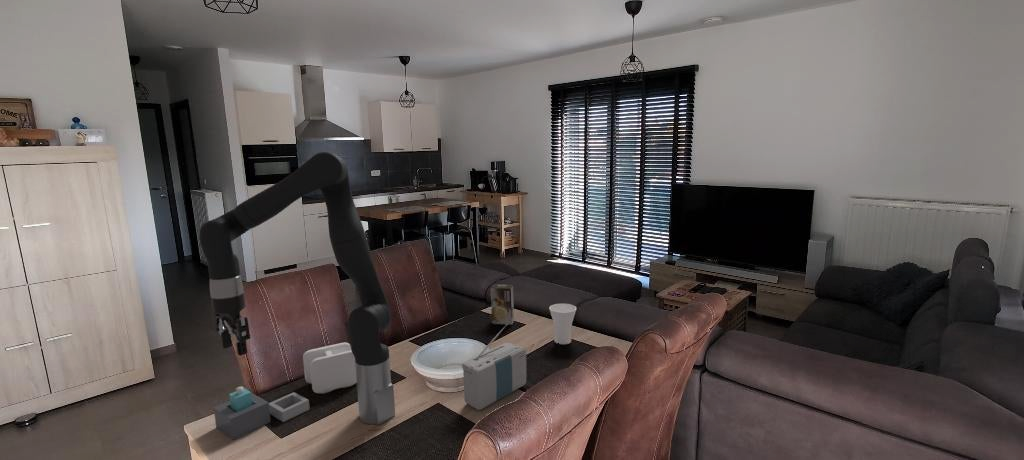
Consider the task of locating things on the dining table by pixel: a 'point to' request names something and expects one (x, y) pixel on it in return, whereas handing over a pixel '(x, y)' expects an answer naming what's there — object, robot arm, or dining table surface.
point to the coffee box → (502, 304)
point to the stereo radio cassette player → (494, 374)
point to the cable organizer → (330, 367)
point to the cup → (562, 321)
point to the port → (242, 417)
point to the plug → (240, 399)
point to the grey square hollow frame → (290, 412)
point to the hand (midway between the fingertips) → (234, 350)
